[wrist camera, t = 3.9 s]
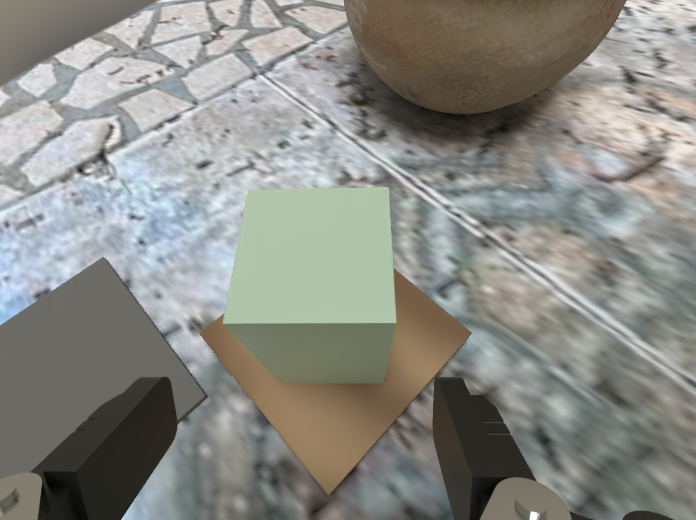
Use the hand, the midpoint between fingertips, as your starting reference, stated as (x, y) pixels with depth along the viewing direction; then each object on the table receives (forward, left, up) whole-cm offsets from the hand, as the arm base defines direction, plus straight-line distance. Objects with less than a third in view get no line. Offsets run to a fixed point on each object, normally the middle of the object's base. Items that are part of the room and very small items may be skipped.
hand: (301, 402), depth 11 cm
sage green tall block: (-4, -4, -10) cm, 12 cm away
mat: (+11, -14, -12) cm, 21 cm away
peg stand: (-4, -4, -12) cm, 13 cm away
